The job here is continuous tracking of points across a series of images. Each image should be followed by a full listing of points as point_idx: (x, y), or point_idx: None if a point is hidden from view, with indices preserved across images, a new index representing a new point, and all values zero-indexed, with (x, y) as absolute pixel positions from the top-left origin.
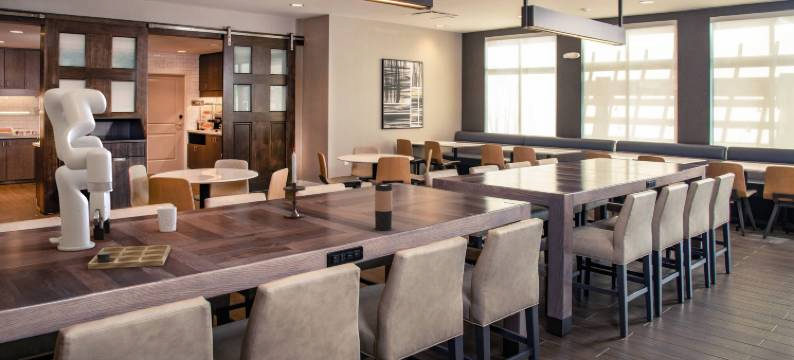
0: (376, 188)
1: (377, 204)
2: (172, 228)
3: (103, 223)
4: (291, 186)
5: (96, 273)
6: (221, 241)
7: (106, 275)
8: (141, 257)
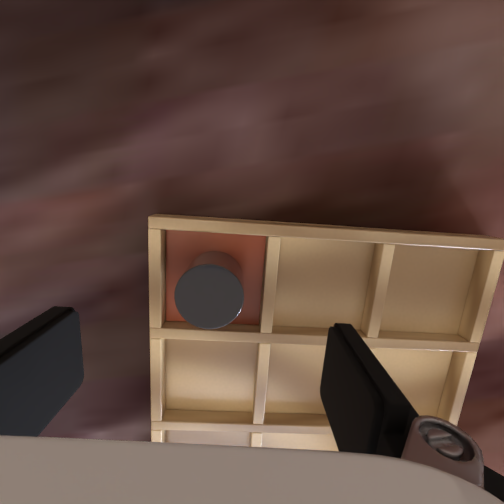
0: None
1: None
2: None
3: (363, 434)
4: None
5: (75, 262)
6: None
7: (35, 307)
8: (228, 431)
